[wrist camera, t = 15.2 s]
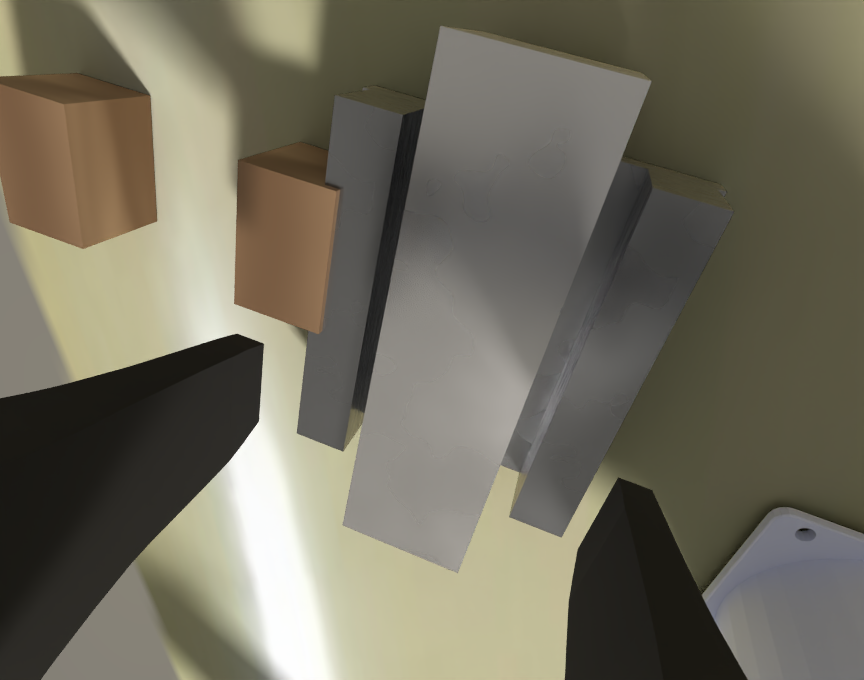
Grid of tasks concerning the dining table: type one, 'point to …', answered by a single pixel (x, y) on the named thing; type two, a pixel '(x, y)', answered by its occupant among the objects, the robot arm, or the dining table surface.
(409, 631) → the dining table surface
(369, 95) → the block
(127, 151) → the wooden blocks
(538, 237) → the grey rectangular bar
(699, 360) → the dining table surface
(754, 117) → the dining table surface
